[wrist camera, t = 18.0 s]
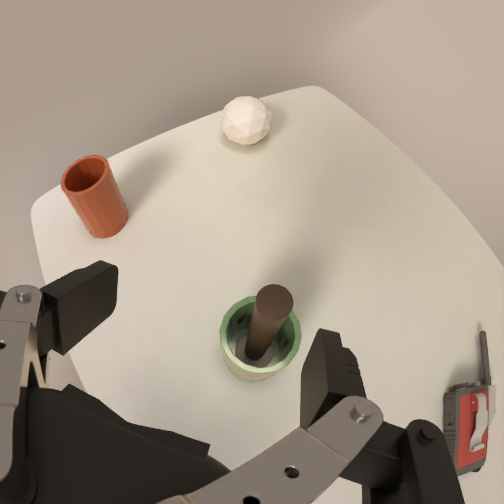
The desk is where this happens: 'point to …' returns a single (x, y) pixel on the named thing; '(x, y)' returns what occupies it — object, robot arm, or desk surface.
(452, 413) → the walkie-talkie
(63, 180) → the terracotta cup
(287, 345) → the green cup
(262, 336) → the muddler
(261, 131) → the geometric ball
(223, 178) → the desk surface
